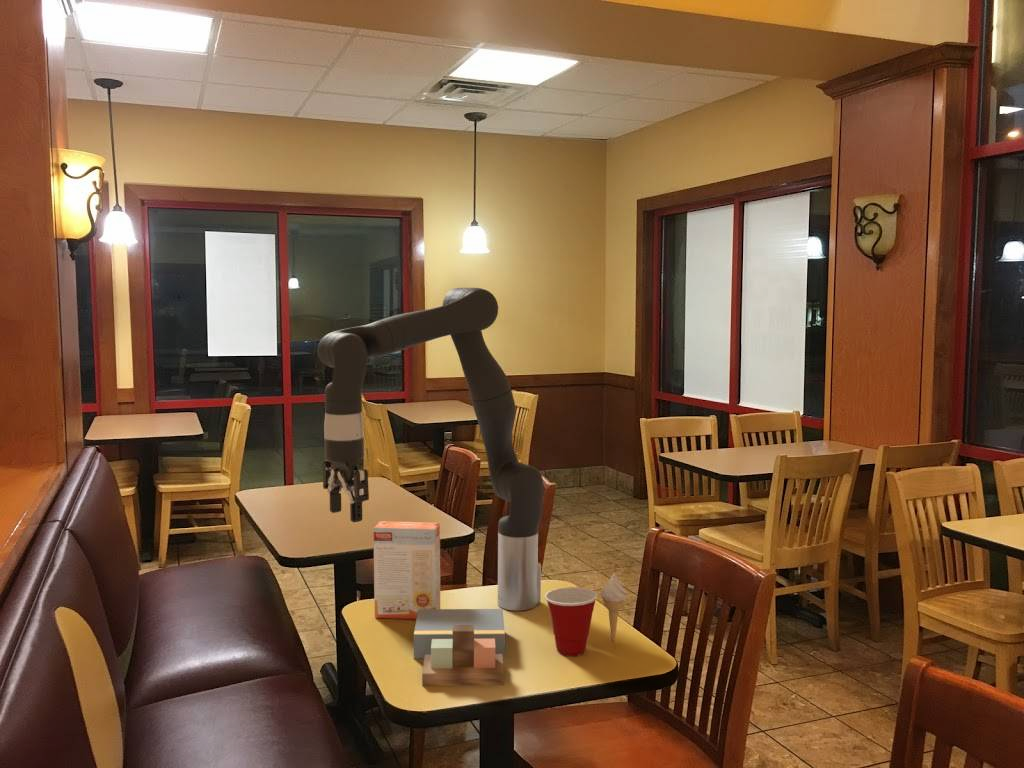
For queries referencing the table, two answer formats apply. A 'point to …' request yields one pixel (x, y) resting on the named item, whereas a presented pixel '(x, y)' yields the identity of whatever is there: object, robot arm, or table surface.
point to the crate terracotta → (484, 653)
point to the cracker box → (406, 568)
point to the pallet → (462, 674)
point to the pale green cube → (441, 653)
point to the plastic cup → (571, 617)
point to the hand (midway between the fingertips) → (345, 516)
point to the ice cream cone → (613, 601)
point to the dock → (442, 622)
